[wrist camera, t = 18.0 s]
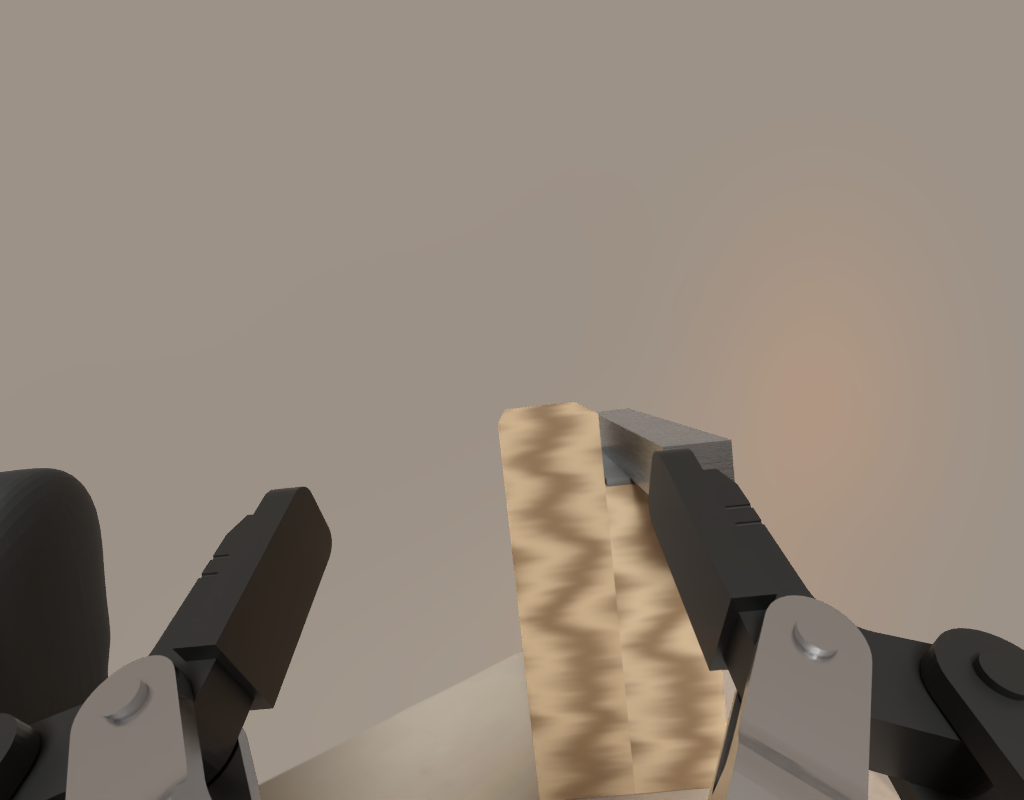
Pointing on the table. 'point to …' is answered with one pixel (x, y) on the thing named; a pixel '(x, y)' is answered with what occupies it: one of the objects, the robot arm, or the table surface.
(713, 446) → the grey metal bar
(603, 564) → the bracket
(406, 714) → the table surface
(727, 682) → the table surface
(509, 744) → the table surface
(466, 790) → the table surface
